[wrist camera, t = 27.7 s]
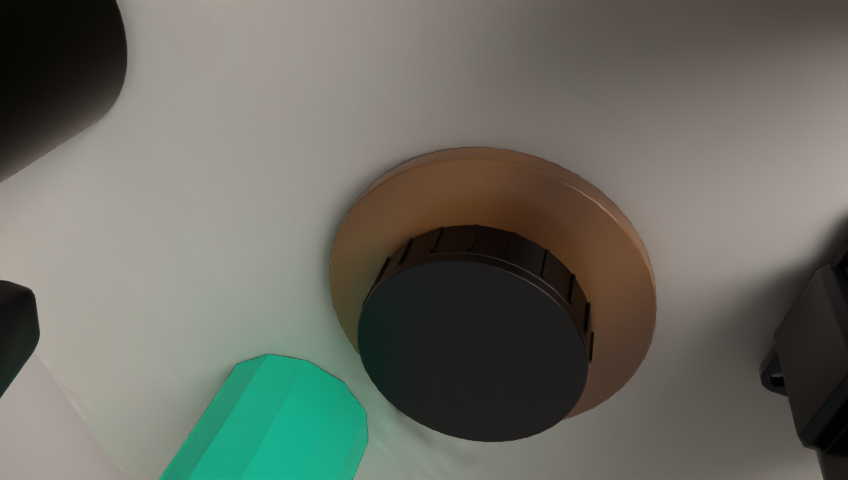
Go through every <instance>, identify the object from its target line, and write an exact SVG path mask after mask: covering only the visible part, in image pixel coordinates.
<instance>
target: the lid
mask: <svg viewBox="0 0 848 480" xmlns="http://www.w3.org/2000/svg"><path fill="white" fill-rule="evenodd" d="M362 308H363V309H362V311H361V313H360V317H359V321H358V329H357V340H358V349H359V353H360V357H361V360H362V363H363V365H364V368H365V370H366V372H367V373H368V375H369V377H370V379H371V381H372V382H373V383H374V385H375V386H376V387H377V389H378V390H379V391H380V392H381V393H382V395H383V396H384V397H385V398H386V399H387V400H388V401H389V402H390V403H391V404H393V405H394V406H395V407H396V408H397V409H398V410H400V411H401V412H403V413H404V414H405V415H407V416H408V417H410V418H411V419H413V420H415V421H416V422H418V423H420V424H422V425H424V426H426V427H428V428H430V429H432V430H435V431H438V432H440V433H443V434H446V435H449V436H453V437H457V438H461V439H466V440H472V441H482V442H504V441H513V440H518V439H523V438H527V437H530V436H533V435H536V434H539V433H541V432H543V431H545V430H547V429H549V428H551V427H553V426H554V425H556V424H557V423H559V422H560V421H561V420H562V419H564V418H565V417H566V416H567V415H568V414H569V413H570V412H571V411H572V409H573V408H574V407H575V405H576V404H577V403H578V401H579V399H580V397H581V396H582V394H583V391H584V388H585V385H586V382H587V375H588V367H589V363H592V355H593V343H594V332H592V323H591V314H590V312H591V303H590V302H589V303H588V302H587V299H586V296H585V294H584V292H583V290H582V288H581V286H580V285H579V283H578V281H577V280H576V275H575V274H572V273H571V272H570V270H569V269H568V268H567V267H566V266H565V265H564V264H563V263H562V262H561V261H560V260H559V259H558V258H556V257H555V256H554V255H553V254H551V253H550V250H549V249H547V250H546V249H545V248H543V247H541V246H540V245H538V244H537V243H535V242H533V241H531V240H529V239H527V238H525V237H523V236H520V235H518V234H517V233H516V232H513V233H512V232H509V231H506V230H502V229H498V228H493V227H487V226H479V224H476V225H457V226H449V227H443V226H440V227H439V229H435V230H432V231H429V232H426V233H424V234H421V235H419V236H417V237H415V238H414V239H412V238H409V239H408V241H407V243H406V244H404V245H403V246H402V247H400V248H399V249H398V250H397V251H396V252H395V253H394V254H393V255H392V256H391V257H387V258H386V260H385V262H384V264H383V266H382V268H381V270H380V272H379V274H378V275H377V277H376V279H375V281H374V284H373V285H372V287H371V289H370V291H369V293H368V295H367V297H366V299H365V301H364V303H363V305H362Z"/></svg>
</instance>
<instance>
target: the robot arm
mask: <svg viewBox="0 0 848 480" xmlns="http://www.w3.org/2000/svg"><path fill="white" fill-rule="evenodd" d="M39 336H40V329H39V321H38V313H37V306H36V298H35V295H34V293H33V292H32V290H31V289H29V288H27V287H24V286H21V285H18V284H16V283H13V282H10V281H5V280H0V398H1V396H2V395H3V394H4V392H5V391H6V390H7V388H8V387H9V385H10V384H11V382H12V381H13V380H14V378H15V377H16V375H17V374H18V373H19V371H20V370H21V369H22V367H23V366H24V364H25V363H26V362H27V360H28V359H29V357H30V356H31V355H32V353H33V352H34V350H35V348H36V346H37V344H38V341H39ZM774 340H775V345H774V346H773V348H772V349H771V351H770V352H769V354H768V355H767V357H766V358H765V360H764V361H763V362H762V364H761V366H760V369H759V372H760V377H761V382H762V385H763V386H764V387H765V388H766V389H768V390H770V391H772V392H775V393H778V394H781V395H784V396H787V397H788V399H789V403H790V407H791V411H792V415H793V420H794V424H795V428H796V432H797V435H798V437H799V439H800V441H801V443H802V445H803V447H806V448H809V449H812V450H815V451H816V453H817V457H818V461H819V464H820V468H821V472H822V476H823V480H848V237H847V238H846V240H845V241H844V243H843V244H842V246H841V247H840V249H839V250H838V252H837V253H836V255H835V256H834V258H833V259H832V260H831V262H830V263H829V264H828V265H825V266H823V267H821V268H819V269H818V270H816V272H815V273H814V275H813V276H812V278H811V279H810V281H809V282H808V284H807V285H806V287H805V288H804V290H803V291H802V293H801V294H800V296H799V297H798V299H797V300H796V302H795V303H794V305H793V306H792V308H791V309H790V311H789V312H788V314H787V315H786V317H785V318H784V320H783V321H782V323H781V324H780V326H779V327H778V329H777V330H776V332H775V333H774ZM777 373H783V376H781V377H773V376H772V375H774V374H777Z"/></svg>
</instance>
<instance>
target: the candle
mask: <svg viewBox="0 0 848 480" xmlns="http://www.w3.org/2000/svg"><path fill="white" fill-rule="evenodd" d="M367 443H368V432H367V416H366V412H365V411H364V409H363V408H362V407H361V405H360V404H359V402H358V401H357V400H356V398H355V397H354V396H353V394H352V393H351V392H350V390H349V389H348V387H347V386H346V385H345V383H343V382H342V381H340V380H338V379H337V378H335V377H333V376H332V375H330V374H328V373H327V372H325V371H324V370H322V369H320V368H319V367H317V366H315V365H314V364H312V363H310V362H309V361H305V360H299V359H293V358H288V357H282V356H276V355H270V354H267V355H264V356H261V357H257V358H254V359H251V360H248V361H245V362H242V363H239V364H237V365H236V367H235V368H234V370H233V371H232V373H231V374H230V376H229V377H228V379H227V380H226V381H225V383H224V384H223V386H222V387H221V389H220V390H219V392H218V393H217V395H216V396H215V398H214V399H213V401H212V402H211V404H210V405H209V406H208V408H207V409H206V411H205V412H204V414H203V415H202V417H201V418H200V420H199V421H198V423H197V424H196V426H195V427H194V429H193V430H192V431H191V433H190V434H189V436H188V437H187V439H186V440H185V442H184V443H183V445H182V446H181V448H180V449H179V451H178V452H177V454H176V455H175V457H174V458H173V459H172V461H171V462H170V464H169V465H168V467H167V468H166V470H165V471H164V473H163V474H162V476H161V477H160V479H159V480H353V478H354V476H355V473H356V471H357V468H358V466H359V463H360V461H361V458H362V456H363V453H364V451H365V448H366V446H367Z"/></svg>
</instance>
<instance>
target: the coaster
mask: <svg viewBox="0 0 848 480" xmlns="http://www.w3.org/2000/svg"><path fill="white" fill-rule="evenodd" d="M476 224H479V226H487V227H493V228H498V229H502V230H506V231H509V232H512V233H513V232H516V233H517V234H518V235H520V236H523V237H525V238H527V239H529V240H531V241H533V242H535V243H537V244H538V245H540V246H541V247H543V248H545V249H546V250H547V249H549V250H550V253H551V254H553V255H554V256H555V257H556V258H558V259H559V260H560V261H561V262H562V263H563V264H564V265H565V266H566V267H567V268H568V269H569V270H570V272H571V273H572V274H575V275H576V280H577V281H578V283H579V285H580V286H581V288H582V290H583V292H584V294H585V296H586V299H587V302H588V303H589V302H590V303H591V312H590V314H591V323H592V332H594V343H593V355H592V363H589V367H588V375H587V382H586V385H585V388H584V391H583V394H582V396H581V397H580V399H579V401H578V403H577V404H576V405H575V407H574V408H573V409H572V411H571V412H570V413H569V414H568V415H567V416H566V417H565V418H564V419H567V418H571V417H574V416H577V415H579V414H581V413H584V412H586V411H588V410H590V409H592V408H594V407H596V406H598V405H599V404H601V403H602V402H604V401H606V400H607V399H609V398H610V397H611V396H613V395H614V394H615V393H616V392H617V391H619V390H620V389H621V388H622V387H623V386H624V385H625V384H626V383H627V382H628V381H629V379H630V378H631V377H632V376H633V375H634V374H635V372H636V371H637V369H638V368H639V366H640V365H641V363H642V361H643V360H644V358H645V356H646V353H647V351H648V349H649V347H650V344H651V341H652V337H653V333H654V329H655V322H656V289H655V279H654V273H653V270H652V266H651V262H650V259H649V256H648V254H647V251H646V249H645V247H644V245H643V242H642V240H641V238H640V237H639V235H638V234H637V232H636V230H635V229H634V227H633V226H632V224H631V223H630V221H629V220H628V219H627V218H626V216H625V215H624V214H623V213H622V212H621V211H620V209H619V208H618V207H617V206H616V205H615V204H614V203H613V202H612V201H611V200H610V199H609V198H608V197H606V196H605V195H604V194H603V193H602V192H601V191H600V190H599V189H597V188H596V187H594V186H593V185H592V184H590V183H589V182H587V181H586V180H584V179H583V178H581V177H580V176H578V175H577V174H575V173H573V172H571V171H569V170H567V169H565V168H563V167H561V166H559V165H557V164H555V163H552V162H549V161H547V160H544V159H541V158H539V157H536V156H533V155H528V154H524V153H520V152H516V151H512V150H505V149H496V148H488V147H465V148H457V149H449V150H441V151H438V152H434V153H430V154H426V155H422V156H419V157H417V158H414V159H412V160H409V161H407V162H405V163H402V164H400V165H399V166H397V167H395V168H393V169H392V170H390V171H388V172H387V173H385V174H384V175H382V176H381V177H380V178H379V179H377V180H376V181H375V182H374V183H372V184H371V185H370V186H369V187H368V188H367V189H366V190H365V192H364V193H363V194H362V195H361V196H360V197H359V198H358V200H357V201H356V203H355V204H354V206H353V207H352V209H351V210H350V212H349V213H348V215H347V216H346V218H345V219H344V221H343V222H342V224H341V226H340V228H339V231H338V233H337V235H336V237H335V240H334V244H333V248H332V252H331V256H330V266H329V281H330V292H331V297H332V301H333V306H334V309H335V312H336V314H337V317H338V320H339V323H340V325H341V326H342V328H343V330H344V332H345V334H346V336H347V338H348V339H349V341H350V342H351V344H352V345H353V347H354V348H355V350H356V351H357V353H358V354H359V355H360V353H359V349H358V340H357V329H358V321H359V317H360V313H361V311H362V309H363V308H362V305H363V303H364V301H365V299H366V297H367V295H368V293H369V291H370V289H371V287H372V285H373V284H374V281H375V279H376V277H377V275H378V274H379V272H380V270H381V268H382V266H383V264H384V262H385V260H386V258H387V257H391V256H392V255H393V254H394V253H395V252H396V251H397V250H398V249H399V248H400V247H402V246H403V245H404V244H406V243H407V241H408V239H409V238H412V239H414V238H415V237H417V236H419V235H421V234H424V233H426V232H429V231H432V230H435V229H439V227H440V226H443V227H449V226H457V225H476ZM564 419H562V420H564Z"/></svg>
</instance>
